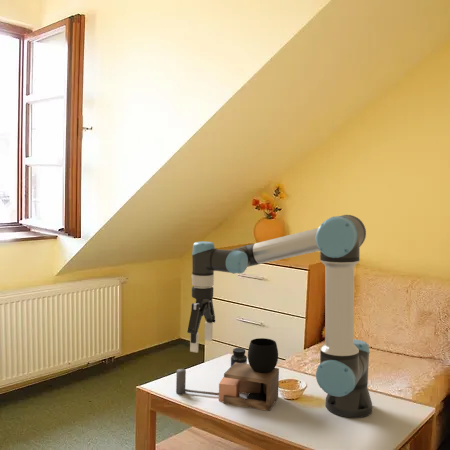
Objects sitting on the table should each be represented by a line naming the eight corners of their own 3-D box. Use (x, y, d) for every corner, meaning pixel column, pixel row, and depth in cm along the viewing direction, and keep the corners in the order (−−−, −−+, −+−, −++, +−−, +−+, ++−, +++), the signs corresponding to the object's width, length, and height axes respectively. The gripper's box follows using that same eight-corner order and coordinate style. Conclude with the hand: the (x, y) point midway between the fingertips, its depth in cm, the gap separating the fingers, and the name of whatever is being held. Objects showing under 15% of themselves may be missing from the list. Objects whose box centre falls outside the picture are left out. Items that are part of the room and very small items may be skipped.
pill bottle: (228, 375, 201) (228, 347, 200) (243, 374, 203) (244, 346, 202) (233, 381, 195) (234, 352, 194) (248, 380, 197) (249, 351, 196)
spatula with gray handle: (239, 395, 183) (240, 373, 182) (235, 402, 177) (236, 379, 176) (179, 388, 188) (179, 367, 187) (173, 395, 182) (174, 373, 181)
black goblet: (261, 407, 174) (262, 348, 172) (240, 397, 182) (241, 340, 180) (283, 399, 180) (284, 343, 179) (262, 390, 188) (263, 335, 187)
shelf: (278, 396, 182) (279, 368, 182) (269, 410, 171) (270, 380, 170) (234, 390, 188) (235, 362, 187) (223, 403, 176) (224, 373, 175)
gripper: (205, 279, 195) (204, 334, 197) (178, 292, 171) (177, 355, 173) (224, 280, 192) (223, 337, 194) (199, 294, 169) (198, 358, 171)
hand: (201, 345), depth 184 cm, fingers open, 13 cm apart
